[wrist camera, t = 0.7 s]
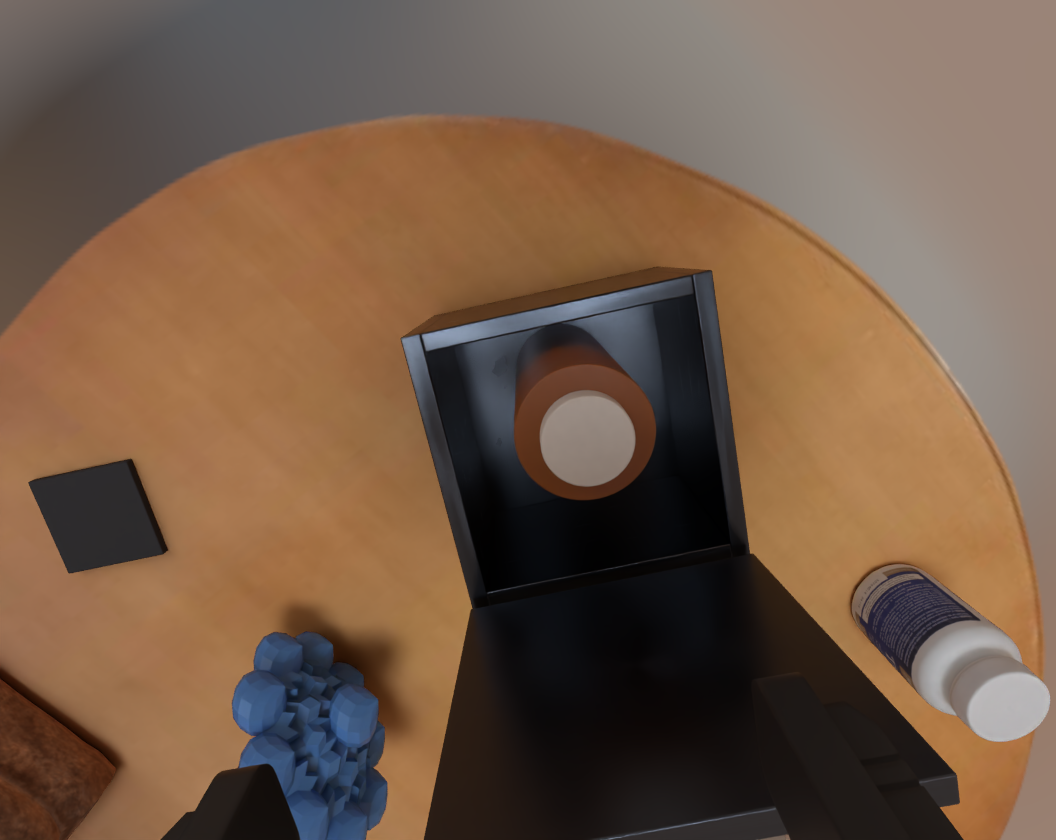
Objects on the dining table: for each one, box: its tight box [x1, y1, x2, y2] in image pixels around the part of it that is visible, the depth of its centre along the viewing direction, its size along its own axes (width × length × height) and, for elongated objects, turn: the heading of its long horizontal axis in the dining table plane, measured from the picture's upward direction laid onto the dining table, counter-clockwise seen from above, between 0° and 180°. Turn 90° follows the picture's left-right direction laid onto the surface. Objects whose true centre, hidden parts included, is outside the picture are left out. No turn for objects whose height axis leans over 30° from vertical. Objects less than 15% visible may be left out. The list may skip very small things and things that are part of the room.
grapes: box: [232, 631, 387, 840], centre depth 34 cm, size 12×7×12 cm, turn 34°
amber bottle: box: [514, 324, 656, 500], centre depth 28 cm, size 5×5×14 cm
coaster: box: [28, 459, 167, 573], centre depth 37 cm, size 6×6×1 cm
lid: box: [424, 554, 960, 840], centre depth 21 cm, size 13×13×6 cm
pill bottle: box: [852, 564, 1050, 742], centre depth 34 cm, size 5×5×10 cm
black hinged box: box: [401, 267, 750, 609], centre depth 31 cm, size 13×13×10 cm
